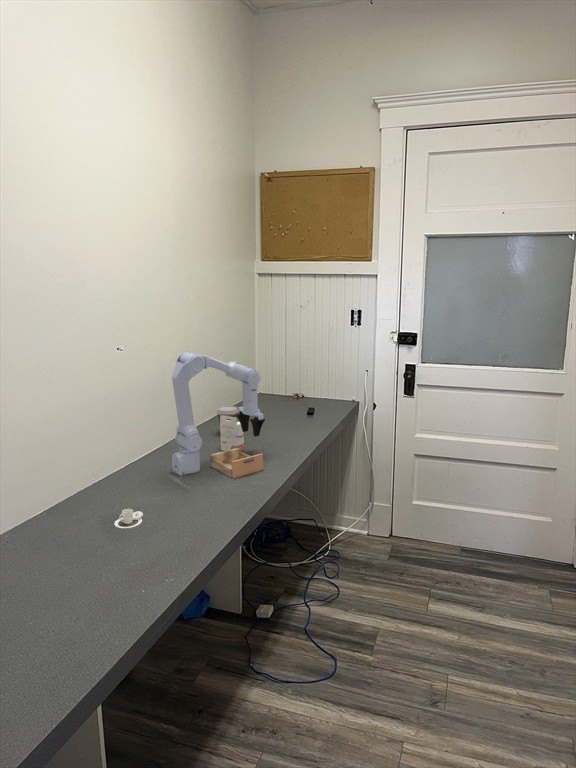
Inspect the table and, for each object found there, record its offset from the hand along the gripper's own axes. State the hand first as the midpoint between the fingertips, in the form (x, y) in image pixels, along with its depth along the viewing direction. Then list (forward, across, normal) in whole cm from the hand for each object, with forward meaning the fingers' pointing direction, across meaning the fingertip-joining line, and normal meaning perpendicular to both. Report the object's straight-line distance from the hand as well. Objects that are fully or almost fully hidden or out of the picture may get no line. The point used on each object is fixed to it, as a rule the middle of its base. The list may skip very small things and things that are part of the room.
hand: (250, 433), depth 217 cm
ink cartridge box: (+10, +13, 0) cm, 17 cm away
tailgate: (+9, -16, +12) cm, 22 cm away
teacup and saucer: (+11, -24, +57) cm, 63 cm away
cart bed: (+10, -8, +12) cm, 18 cm away
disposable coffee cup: (+10, +32, -10) cm, 35 cm away
